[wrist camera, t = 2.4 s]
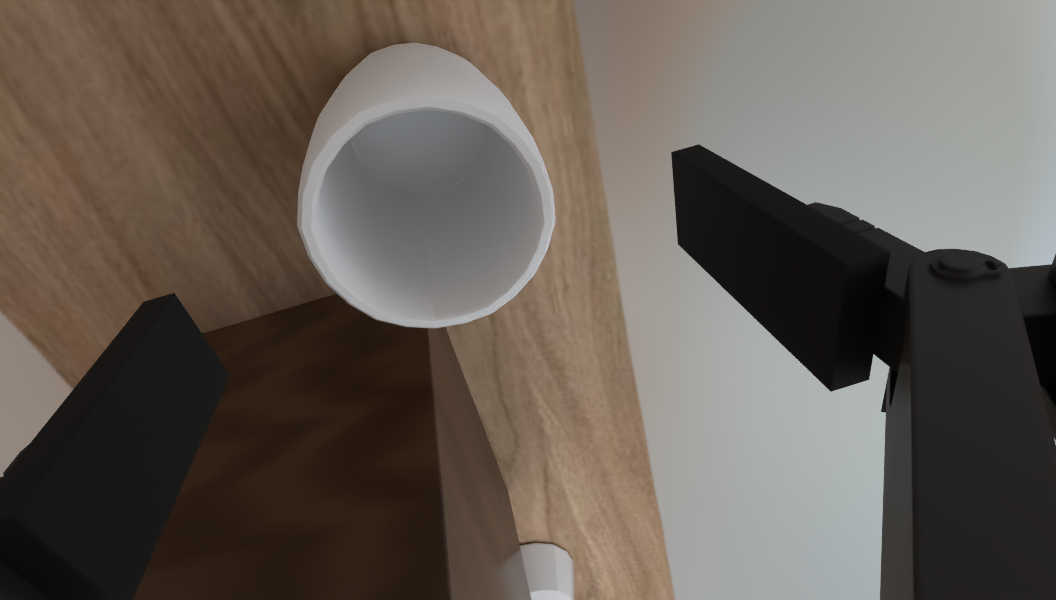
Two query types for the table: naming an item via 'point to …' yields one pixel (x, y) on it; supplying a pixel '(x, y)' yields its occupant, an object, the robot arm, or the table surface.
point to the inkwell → (548, 572)
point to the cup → (423, 191)
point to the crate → (339, 472)
